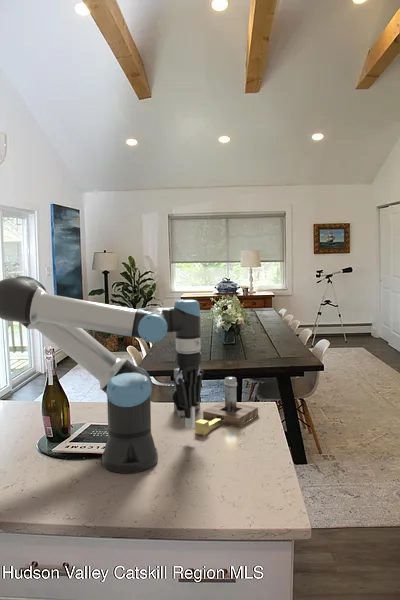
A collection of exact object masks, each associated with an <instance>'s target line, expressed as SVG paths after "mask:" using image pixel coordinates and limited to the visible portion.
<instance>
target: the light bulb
mask: <svg viewBox="0 0 400 600" xmlns="http://www.w3.org/2000/svg"><path fill="white" fill-rule="evenodd" d="M172 402H173V404H174V403H175V405H176V407H177V411H176V412H177V416H178V417H179V418H182V417H185V414H184V407H181V406H179V401H178V395H177V390H176V391H175V392H174V391H173V393H172Z"/></svg>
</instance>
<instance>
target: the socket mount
mask: <svg viewBox="0 0 400 600" xmlns="http://www.w3.org/2000/svg"><path fill="white" fill-rule="evenodd" d="M257 415H258V416H259V407H258V406H255V405H254V406H253V405H247V404H244V403H243V404H242V403H237V402H236V412H235V413H231V412H226V411H225V400H223V401H221V402H219V403H216V404H215V405H213V406H211V407H209V408H206V409H205V410H203V411H202V420H206V421H209V422H210V421H212V420H214V419H215V418H221V419H222V420H223V425H226V426H230V427H235V428H241V425H242V426H243V425H245V424H246V422H247V421H248V422H249V420H250V419H252V418H253V419H255V418H256V417H258V416H257ZM255 416H256V417H255ZM254 417H255V418H254ZM253 419H252V420H253ZM250 421H251V420H250ZM248 422H247V423H248ZM244 423H245V424H244Z"/></svg>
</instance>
